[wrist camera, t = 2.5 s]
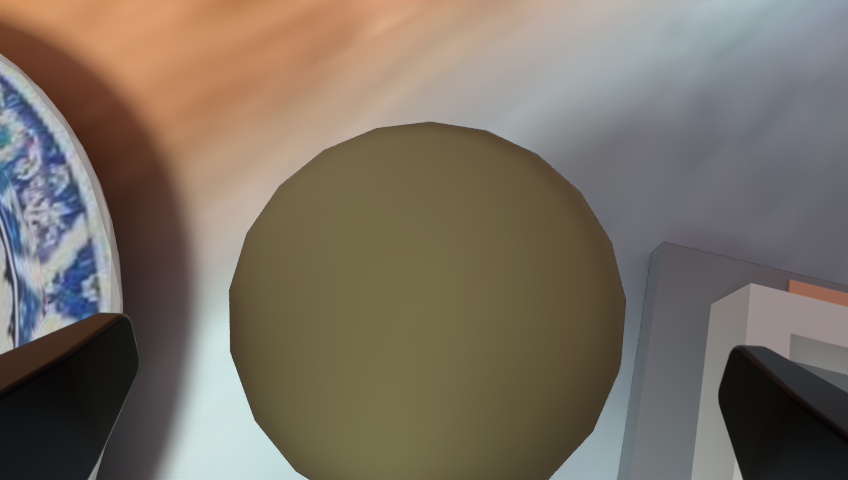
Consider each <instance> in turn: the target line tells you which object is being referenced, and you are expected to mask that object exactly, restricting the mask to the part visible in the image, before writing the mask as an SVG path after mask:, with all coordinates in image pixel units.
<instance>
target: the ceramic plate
mask: <svg viewBox="0 0 848 480" xmlns="http://www.w3.org/2000/svg"><path fill="white" fill-rule="evenodd" d="M101 312H106V313H123V297H122V285H121V273H120V261H119V255H118V250H117V245H116V239H115V234H114V229H113V224H112V219H111V216H110V213H109V210H108V207H107V203H106V200H105V197H104V194H103V191H102V188H101V185H100V182H99V180H98V178H97V175H96V173H95V171H94V169H93V167H92V165H91V162H90V160H89V158H88V156H87V154H86V151H85V150H84V148H83V146H82V145H81V143H80V141H79V140H78V138H77V137H76V135H75V133H74V132H73V130H72V128H71V127H70V125H69V124H68V122H67V120H66V119H65V118H64V116H63V115H62V114H61V112H60V111H59V110H58V109H57V108H56V106H55V105H54V104H53V103H52V101H51V100H50V99H49V98H48V96H47V95H46V94H45V93H44V92H43V90H42V89H41V88H40V87H39V86H38V85H37V84H35V83H34V82H33V81H32V80H31V79H30V78H29V77H28V76H27V75H26V74H25V73H24V72H23V71H22V70H21V69H20V68H19V67H18V66H16V65H15V64H14V63H12V62H11V61H10V60H8V59H7V58H6V57H4V56H3V55H1V54H0V354H2V353H5V352H7V351H9V350H12V349H14V348H16V347H19V346H21V345H23V344H26V343H28V342H30V341H33V340H35V339H37V338H40V337H42V336H44V335H47V334H49V333H51V332H54V331H56V330H59V329H61V328H63V327H66V326H68V325H70V324H73V323H75V322H77V321H80V320H82V319H84V318H87V317H89V316H91V315H94V314H96V313H101ZM104 449H105V448H104ZM103 452H104V450H103ZM103 452H102V454H101V456H100V458H99V460H98V462H97V464H96V466H95V468H94V470H93V471H92V473H91V475H90V477H89V479H88V480H96V476H97V473H98V469H99V466H100V462H101V459H102V456H103Z"/></svg>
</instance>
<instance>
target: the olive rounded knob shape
mask: <svg viewBox="0 0 848 480" xmlns="http://www.w3.org/2000/svg"><path fill="white" fill-rule="evenodd" d="M625 306H626V299H625V295H624V291H623V287H622V283H621V279H620V275H619V271H618V267H617V263H616V259H615V255H614V251H613V247H612V243H611V241H610V239H609V238H608V236H607V234H606V233H605V231H604V229H603V228H602V226H601V225H600V223H599V221H598V220H597V218H596V216H595V215H594V213H593V212H592V210H591V208H590V207H589V205H588V203H587V202H586V200H585V199H584V197H583V195H582V194H581V192H580V191H578V190H577V189H576V188H575V187H574V186H573V185H572V184H571V183H569V182H568V181H567V180H566V179H565V178H564V177H563V176H561V175H560V174H559V173H558V172H557V171H556V170H555V169H554V168H552V167H551V166H550V165H549V164H548V163H547V162H546V161H544V160H543V159H542V158H541V157H540V156H539V155H538V154H535V153H533V152H531V151H529V150H527V149H525V148H523V147H520V146H518V145H516V144H514V143H512V142H510V141H508V140H505V139H503V138H501V137H499V136H497V135H495V134H493V133H490V132H488V131H485V130H479V129H473V128H467V127H460V126H454V125H448V124H442V123H435V122H424V123H416V124H407V125H399V126H391V127H382V128H376V129H373V130H371V131H369V132H366V133H364V134H361V135H359V136H357V137H354V138H352V139H349V140H347V141H345V142H342V143H340V144H337V145H335V146H333V147H330V148H328V149H325V150H323V151H322V152H321V153H320V154H318V155H317V156H316V157H315V158H313V159H312V160H311V161H310V162H308V163H307V164H306V165H305V166H303V167H302V168H301V169H300V170H299V171H297V172H296V173H295V174H294V175H292V176H291V177H290V178H289V179H287V180H286V181H285V182H284V183H282V184H281V185H280V186H279V187H278V189H277V190H276V192H275V193H274V195H273V196H272V197H271V199H270V200H269V202H268V203H267V205H266V206H265V208H264V209H263V211H262V212H261V213H260V215H259V216H258V218H257V219H256V221H255V222H254V224H253V225H252V227H251V228H250V229H249V231H248V232H247V234H246V237H245V241H244V244H243V247H242V250H241V254H240V257H239V260H238V263H237V267H236V270H235V273H234V276H233V280H232V283H231V286H230V289H229V310H230V353H231V355H232V358H233V361H234V364H235V367H236V369H237V372H238V375H239V378H240V380H241V383H242V386H243V389H244V392H245V394H246V397H247V400H248V403H249V406H250V408H251V411H252V414H253V417H254V419H255V421H256V423H257V424H258V425H259V426H260V428H261V429H262V430H263V431H264V432H265V434H266V435H267V436H268V437H269V439H270V440H271V441H272V442H273V444H274V445H275V446H276V447H277V449H278V450H279V451H280V452H281V454H282V455H283V456H284V457H285V459H286V460H287V461H288V462H289V463H290V465H291V466H292V467H293V468H294V470H295V471H296V472H298V473H299V474H301V475H303V476H304V477H306V478H307V479H309V480H548V479H549V478H550V477H551V476H552V475H553V474H554V473H555V472H556V471H557V470H558V469H559V467H560V466H561V465H562V464H563V463H564V462H565V461H566V460H567V459H568V458H569V457H570V456H571V454H572V453H573V452H574V451H575V450H576V449H577V448H578V447H579V446H580V445H581V444H582V443H583V442H584V440H585V439H586V438H587V437H588V436H589V435H590V434H591V433H592V432H593V430H594V428H595V425H596V423H597V421H598V418H599V416H600V414H601V412H602V409H603V407H604V405H605V402H606V400H607V398H608V395H609V393H610V391H611V389H612V386H613V384H614V382H615V379H616V377H617V375H618V372H619V369H620V365H621V357H622V344H623V331H624V319H625Z"/></svg>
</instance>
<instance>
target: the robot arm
mask: <svg viewBox="0 0 848 480" xmlns="http://www.w3.org/2000/svg"><path fill="white" fill-rule="evenodd" d="M139 365H140V358H139V353H138V348H137V344H136V339H135V335H134V330H133V326H132V322H131V320H130V318H129V317H128V316H127V315H126V314H123V313H106V312H101V313H96V314H94V315H91V316H89V317H87V318H84V319H82V320H80V321H77V322H75V323H73V324H70V325H68V326H66V327H63V328H61V329H59V330H56V331H54V332H51V333H49V334H47V335H44V336H42V337H40V338H37V339H35V340H33V341H30V342H28V343H26V344H23V345H21V346H19V347H16V348H14V349H12V350H9V351H7V352H5V353H2V354H0V480H88V479H89V477H90V475H91V473H92V471H93V470H94V468H95V466H96V464H97V462H98V460H99V458H100V456H101V454H102V452H103V450H104V448H105V446H106V444H107V441H108V439H109V437H110V435H111V432H112V430H113V428H114V426H115V424H116V421H117V419H118V417H119V415H120V412H121V410H122V408H123V406H124V403H125V401H126V399H127V397H128V394H129V392H130V390H131V388H132V386H133V383H134V381H135V379H136V377H137V374H138V371H139ZM718 402H719V407H720V410H721V413H722V416H723V420H724V423H725V426H726V429H727V432H728V435H729V438H730V442H731V445H732V448H733V451H734V454H735V457H736V460H737V463H738V467H739V470H740V473H741V476H742V479H743V480H848V392H846V391H844V390H842V389H840V388H839V387H837V386H835V385H833V384H832V383H830V382H828V381H826V380H824V379H823V378H821V377H819V376H817V375H815V374H814V373H812V372H810V371H808V370H807V369H805V368H803V367H801V366H799V365H798V364H796V363H794V362H792V361H790V360H789V359H787V358H785V357H783V356H781V355H780V354H778V353H776V352H774V351H773V350H771V349H769V348H767V347H764V346H754V345H737V346H735V347H733V348H732V350H731V351H730V354H729V356H728V360H727V363H726V366H725V369H724V373H723V376H722V379H721V382H720V386H719V390H718Z"/></svg>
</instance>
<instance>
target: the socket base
mask: <svg viewBox="0 0 848 480" xmlns="http://www.w3.org/2000/svg"><path fill="white" fill-rule="evenodd" d="M737 345H754V346H764V347H767V348H769V349H771V350H773V351H774V352H776V353H778V354H780V355H781V356H783V357H785V358H787V359H789V360H790V361H792V362H794V363H796V364H798V365H799V366H801V367H803V368H805V369H807V370H808V371H810V372H812V373H814V374H815V375H817V376H819V377H821V378H823V379H824V380H826V381H828V382H830V383H832V384H833V385H835V386H837V387H839V388H840V389H842V390H844V391H846V392H848V286H845V285H841V284H836V283H832V282H828V281H824V280H820V279H816V278H812V277H807V276H803V275H799V274H795V273H791V272H787V271H782V270H778V269H774V268H770V267H766V266H762V265H758V264H753V263H749V262H745V261H741V260H737V259H733V258H728V257H724V256H720V255H716V254H712V253H708V252H704V251H699V250H695V249H691V248H687V247H683V246H679V245H674V244H670V243H666V242H663V243H662V244H661V245H660V246H659V247H658V248H657V249H655V250H654V251H653V252H652V254H651V261H650V268H649V274H648V281H647V287H646V294H645V301H644V307H643V314H642V320H641V327H640V334H639V340H638V347H637V353H636V360H635V367H634V373H633V380H632V387H631V393H630V400H629V406H628V413H627V420H626V426H625V433H624V439H623V446H622V453H621V459H620V466H619V472H618V479H617V480H743V479H742V476H741V473H740V470H739V467H738V463H737V460H736V457H735V454H734V451H733V448H732V445H731V442H730V438H729V435H728V432H727V429H726V426H725V423H724V420H723V416H722V413H721V410H720V407H719V402H718V390H719V386H720V382H721V379H722V376H723V373H724V369H725V366H726V363H727V360H728V356H729V354H730V351H731V350H732V348H733V347H735V346H737Z"/></svg>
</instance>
